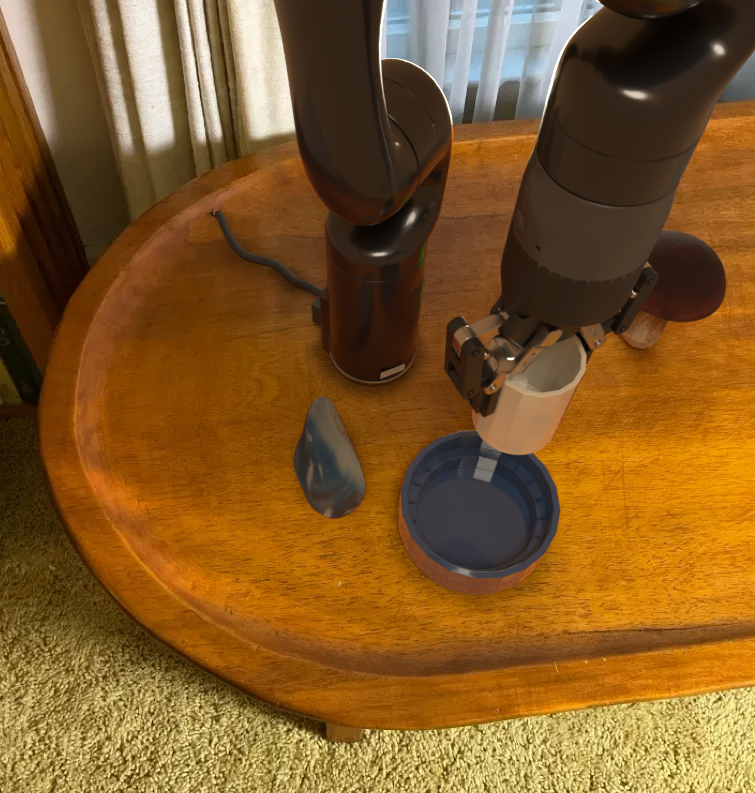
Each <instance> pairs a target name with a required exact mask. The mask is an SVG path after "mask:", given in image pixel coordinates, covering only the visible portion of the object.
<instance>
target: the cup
mask: <svg viewBox="0 0 755 793" xmlns="http://www.w3.org/2000/svg"><path fill="white" fill-rule="evenodd" d="M508 343H509V344H510V346H511V347H512V348H513V350H514V351H515V353H516V354H517V355H518V353H519V352H520V351H521V350H520V349H518V348H517V347H516V346H514V345H513V344H511V343H510V342H509V341H508ZM586 357H587V356H586V353H585V350H584V348H583V345H582V343H581V340H580V339H579V338H578V337H577V336H576V335H575V334H574V335H573V337H571V338H568V339H566V340H564V341H560V342H556V343H554V344H553V345H552V346H551V347H546V348H545V349H544V350H543V351H542V352H541V353H540V354H539V355H538V357H537V358H536V359H535V360H534V361H533V362H532V363H531V364H530V365H529V367H528V368H527V369H526V370H525V371H524V372H523V373H519V374H512V375H511V376H510V377H509V378H508V379H507V381H506V382H505V383H504V384H503V385H502V386H501V392H500V395H499V398H498V401H497V404H496V407H495V411H494V413H493V414H491V415H489V416H487V417H482V415H481V414H480V413H477V414H476V412H475V411H474V409H473V408H472V407H471V419H472V424H473V426H474V429H475V431H477V433H478V434H479V435H480V437H481V438H482V439H483V440H484V441H485V442H486V443H487V444H488V445H490V446H491V447H493V448H494V449H496V450H498V451H501V452H504V453H507V454H513V455H525V454H530V453H533V454H534V453H536V452H539V451H540V450H542V449H544V448H546V447H547V445H548V444H550V442H551V441H552V440H553V438H554V437H555V434H556V433H557V431H558V429H559V427H560V425H561V424H562V422H563V419H564V417H565V415H566V413H567V411H568V409H569V407H570V405H571V402H572V400H573V398H574V396H575V394H576V392H577V390H578V388H579V386H580V384H581V381H582V380H583V377H584V375H585V373H586V371H587V370H586V369H587V364H586ZM487 363H488V364H489V365H490V367H491V368H492V370H493V371H495V370H496V369H497V367H498V363H497V361H496V359H495V358H494V356H492V357H491V358H490V359H489V361H488V362H487Z"/></svg>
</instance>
